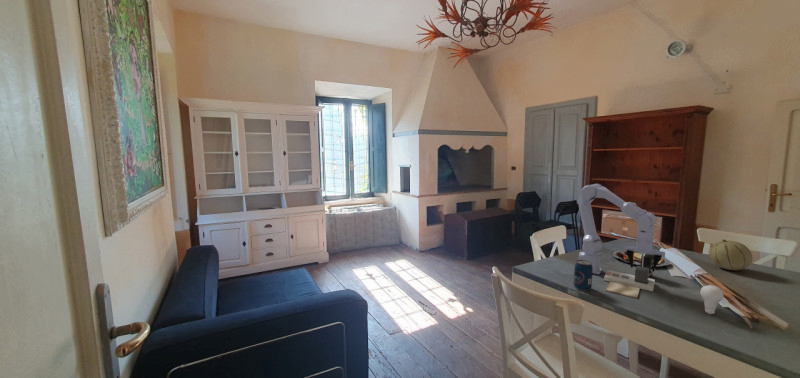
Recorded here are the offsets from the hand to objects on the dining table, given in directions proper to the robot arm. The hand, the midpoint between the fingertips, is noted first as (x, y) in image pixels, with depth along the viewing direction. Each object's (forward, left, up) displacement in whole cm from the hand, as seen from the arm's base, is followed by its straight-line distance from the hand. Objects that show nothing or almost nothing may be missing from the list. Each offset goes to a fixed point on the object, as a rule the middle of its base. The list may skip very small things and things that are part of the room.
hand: (642, 269), depth 141 cm
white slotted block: (-5, 0, -8) cm, 9 cm away
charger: (0, 0, -8) cm, 8 cm away
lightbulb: (+21, -15, -8) cm, 27 cm away
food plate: (-4, +37, -8) cm, 38 cm away
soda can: (-20, -20, -8) cm, 29 cm away
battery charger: (+1, +13, -8) cm, 15 cm away
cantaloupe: (+31, +49, -8) cm, 59 cm away
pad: (-6, -11, -8) cm, 15 cm away
